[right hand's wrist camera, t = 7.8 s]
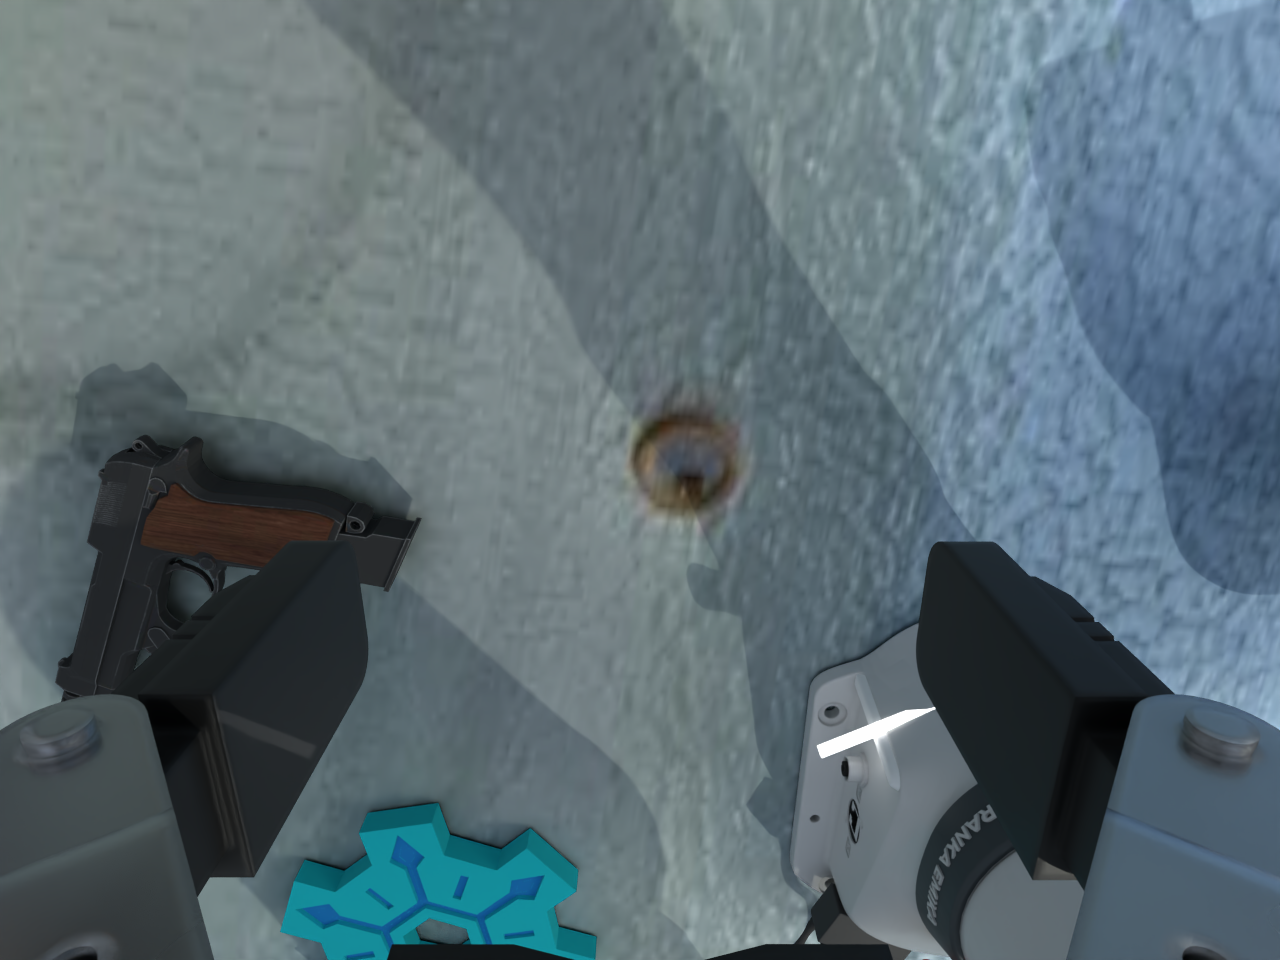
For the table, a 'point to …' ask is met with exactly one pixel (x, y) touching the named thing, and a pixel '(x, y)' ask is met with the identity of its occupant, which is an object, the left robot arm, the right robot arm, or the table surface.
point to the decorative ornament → (435, 891)
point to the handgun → (197, 548)
